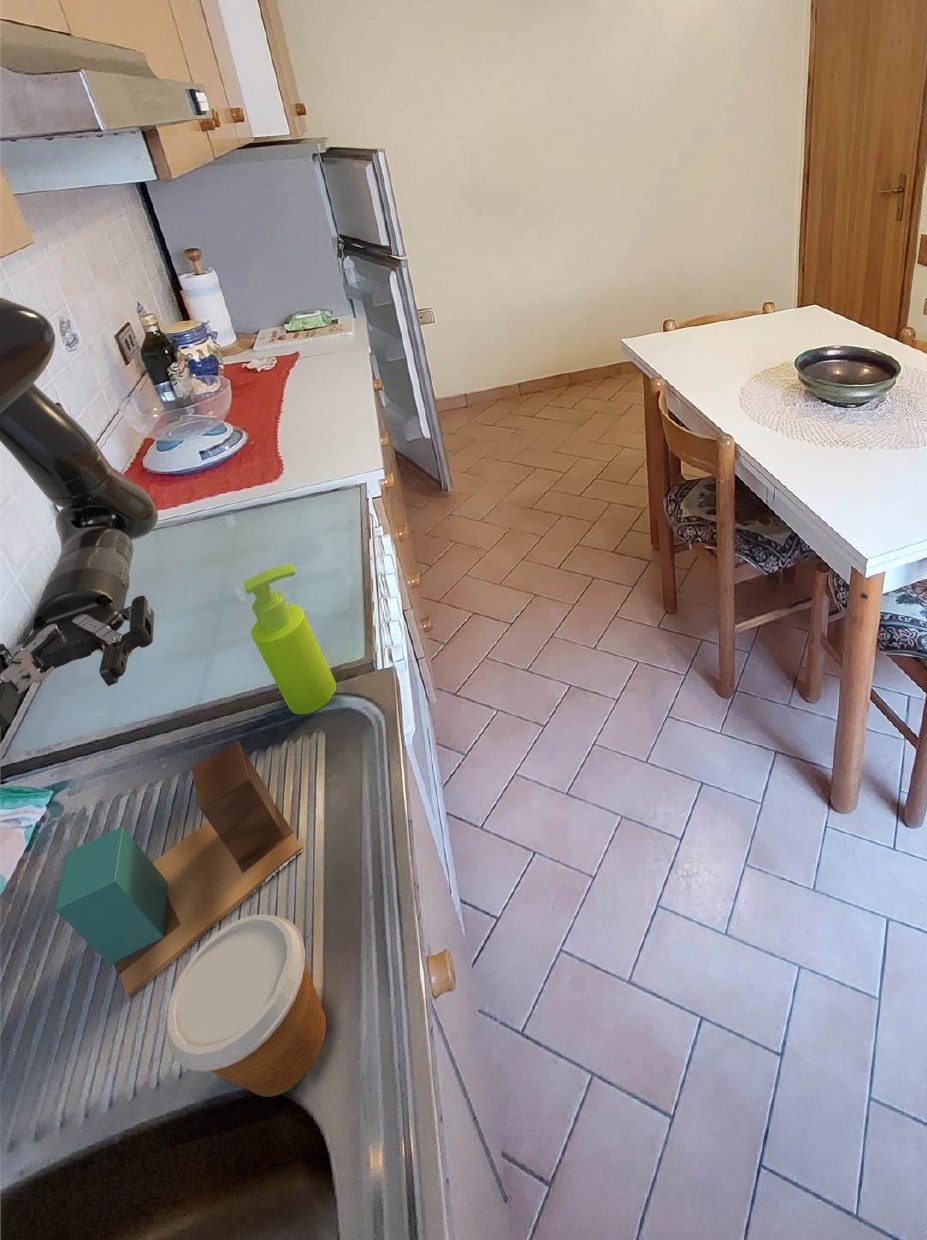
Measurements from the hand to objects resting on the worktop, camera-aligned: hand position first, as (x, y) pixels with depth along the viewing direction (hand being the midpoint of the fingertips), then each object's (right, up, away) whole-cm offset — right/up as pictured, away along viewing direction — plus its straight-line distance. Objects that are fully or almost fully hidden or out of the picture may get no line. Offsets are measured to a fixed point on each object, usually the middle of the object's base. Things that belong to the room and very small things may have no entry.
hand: (55, 698), depth 64 cm
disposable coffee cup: (+26, -26, -7) cm, 37 cm away
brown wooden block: (+15, -17, +8) cm, 24 cm away
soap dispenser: (+13, -10, +24) cm, 29 cm away
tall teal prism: (+7, -22, +1) cm, 23 cm away
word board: (+11, -21, +5) cm, 24 cm away
